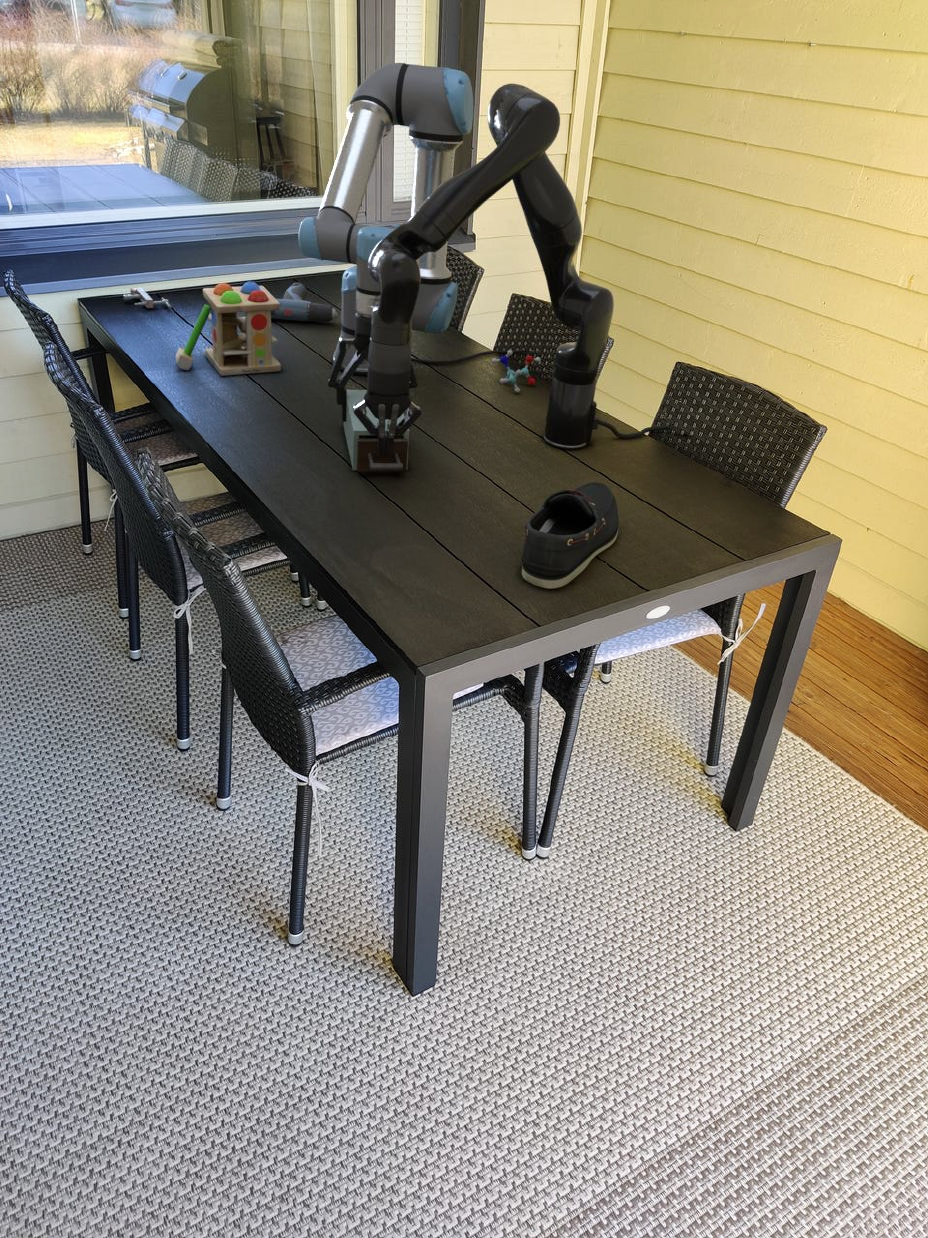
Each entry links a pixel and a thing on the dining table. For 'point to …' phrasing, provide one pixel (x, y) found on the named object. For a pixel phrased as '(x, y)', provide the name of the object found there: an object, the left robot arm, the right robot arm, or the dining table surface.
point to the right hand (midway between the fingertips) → (385, 454)
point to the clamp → (144, 298)
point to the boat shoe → (568, 534)
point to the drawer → (374, 461)
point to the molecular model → (511, 373)
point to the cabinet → (360, 424)
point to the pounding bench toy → (229, 347)
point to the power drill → (301, 307)
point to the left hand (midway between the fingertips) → (371, 419)
